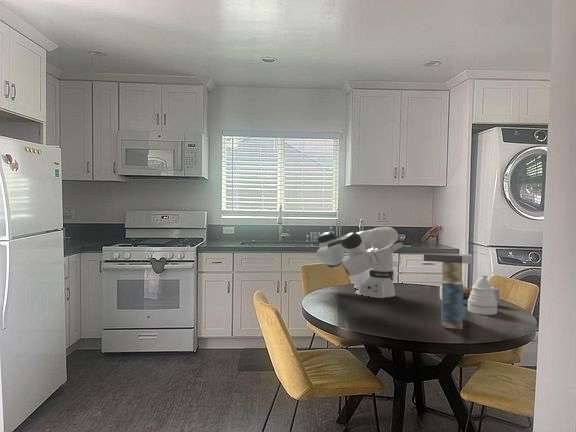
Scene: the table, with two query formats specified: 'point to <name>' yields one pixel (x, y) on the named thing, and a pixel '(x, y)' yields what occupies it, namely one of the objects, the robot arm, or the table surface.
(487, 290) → the honey pot
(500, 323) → the table surface
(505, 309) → the table surface
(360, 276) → the cup
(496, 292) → the medicine box
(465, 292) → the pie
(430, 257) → the dark gray bar
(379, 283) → the robot arm
